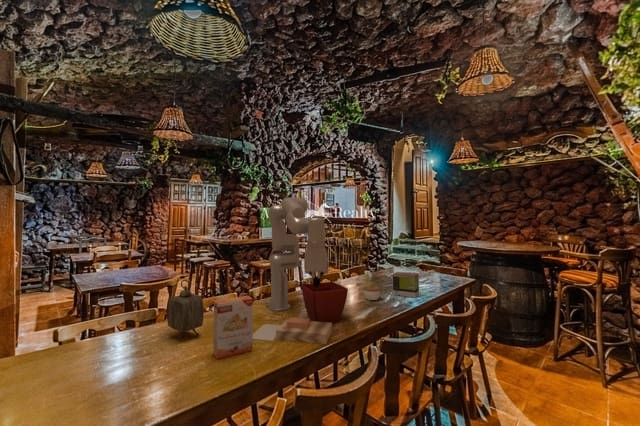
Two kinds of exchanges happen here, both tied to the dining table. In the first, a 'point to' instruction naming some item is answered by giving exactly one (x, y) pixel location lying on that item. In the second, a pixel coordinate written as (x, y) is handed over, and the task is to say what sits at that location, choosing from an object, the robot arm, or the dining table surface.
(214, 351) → the cracker box
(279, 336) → the board
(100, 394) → the dining table surface
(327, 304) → the plant pot
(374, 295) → the lidded jar
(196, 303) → the tabletop clock
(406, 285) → the tea box
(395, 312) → the dining table surface
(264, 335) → the mat
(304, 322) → the block
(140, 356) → the dining table surface
